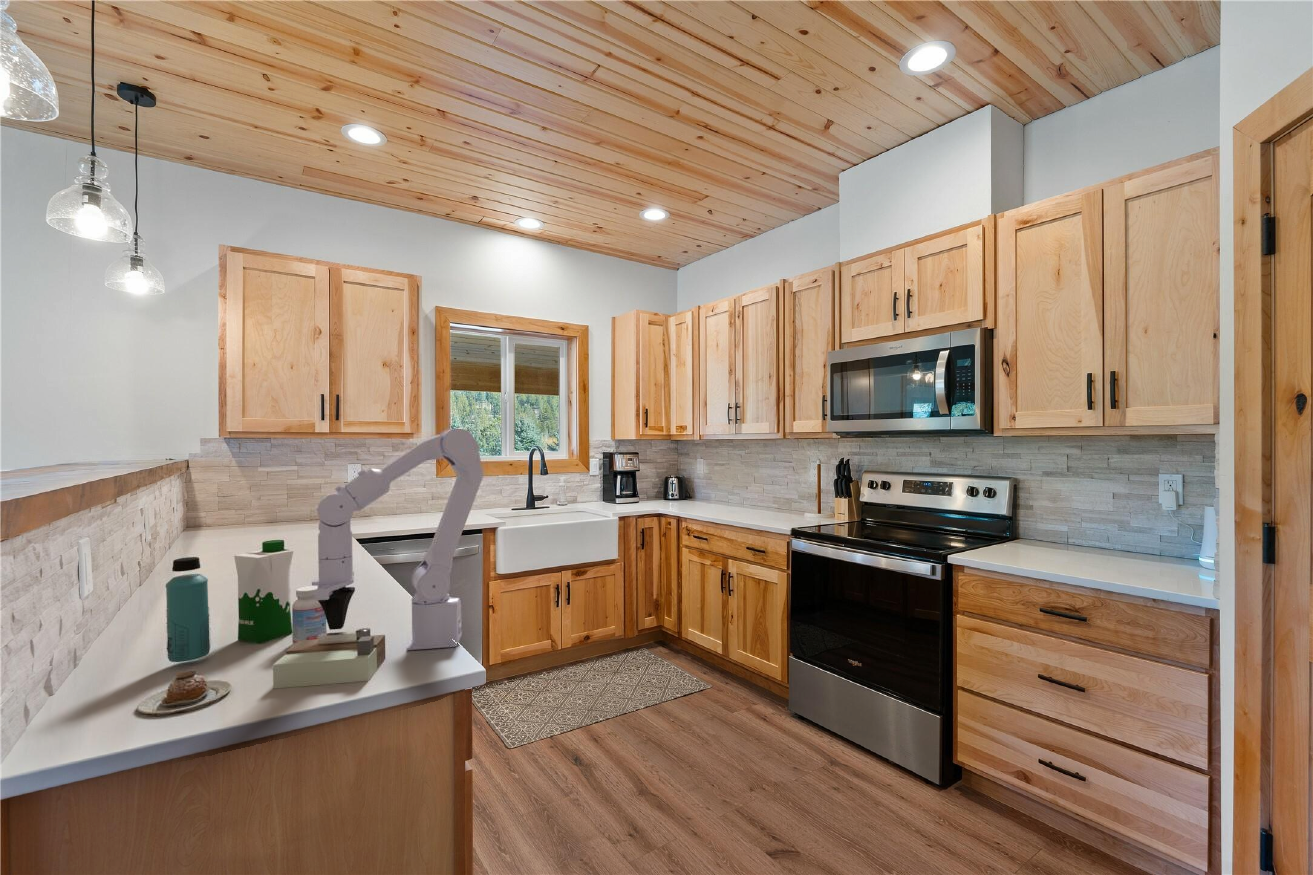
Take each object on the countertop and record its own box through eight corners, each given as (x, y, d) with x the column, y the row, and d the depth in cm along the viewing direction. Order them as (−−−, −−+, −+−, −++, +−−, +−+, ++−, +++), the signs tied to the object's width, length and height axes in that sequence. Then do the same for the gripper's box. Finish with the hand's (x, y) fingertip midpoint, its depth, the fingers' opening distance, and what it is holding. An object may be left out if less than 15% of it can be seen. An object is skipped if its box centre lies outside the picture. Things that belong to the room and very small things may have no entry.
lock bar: (372, 637, 111) (372, 627, 111) (368, 641, 108) (368, 631, 108) (321, 640, 109) (321, 631, 109) (316, 645, 107) (316, 635, 107)
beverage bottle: (219, 659, 114) (217, 555, 114) (181, 672, 107) (179, 562, 107) (195, 656, 116) (193, 553, 116) (157, 668, 109) (155, 560, 109)
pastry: (246, 684, 103) (245, 657, 103) (205, 716, 91) (205, 686, 91) (169, 690, 101) (168, 663, 101) (117, 723, 89) (116, 692, 89)
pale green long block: (377, 669, 107) (376, 633, 107) (368, 680, 102) (368, 643, 102) (286, 676, 105) (285, 639, 105) (273, 688, 100) (272, 649, 100)
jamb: (385, 658, 113) (385, 634, 113) (377, 669, 108) (376, 644, 108) (299, 664, 110) (299, 640, 110) (286, 676, 105) (286, 651, 105)
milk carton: (299, 632, 129) (297, 540, 129) (257, 646, 121) (256, 548, 121) (271, 628, 132) (270, 538, 132) (229, 641, 124) (227, 545, 124)
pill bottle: (311, 648, 119) (310, 592, 119) (285, 646, 120) (284, 591, 120) (333, 638, 125) (332, 584, 125) (308, 636, 126) (307, 583, 126)
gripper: (327, 550, 119) (327, 618, 119) (296, 565, 105) (297, 642, 105) (364, 549, 121) (365, 615, 121) (339, 563, 106) (340, 639, 106)
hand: (336, 628), depth 113 cm, fingers closed
